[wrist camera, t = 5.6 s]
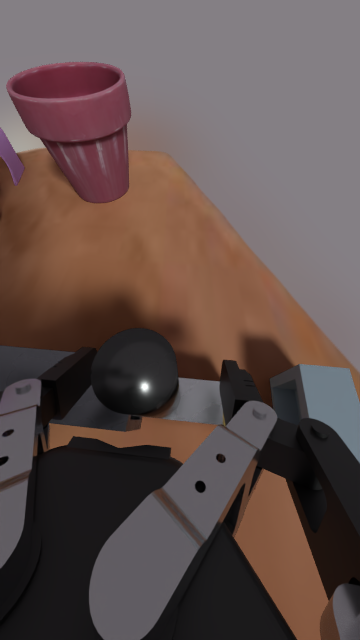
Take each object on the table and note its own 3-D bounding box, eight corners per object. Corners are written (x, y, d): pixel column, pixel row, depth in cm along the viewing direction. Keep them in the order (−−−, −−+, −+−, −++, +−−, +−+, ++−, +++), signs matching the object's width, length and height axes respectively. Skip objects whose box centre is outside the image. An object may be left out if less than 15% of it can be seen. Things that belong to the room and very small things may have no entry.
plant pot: (154, 200, 33) (138, 85, 22) (69, 222, 31) (3, 105, 19) (131, 161, 39) (110, 55, 28) (59, 177, 37) (4, 68, 25)
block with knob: (24, 404, 18) (-224, 377, 7) (39, 369, 19) (-148, 303, 8) (230, 426, 16) (319, 437, 6) (230, 388, 18) (299, 340, 7)
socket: (277, 451, 16) (317, 464, 12) (269, 378, 19) (299, 364, 14) (321, 456, 16) (380, 471, 11) (306, 382, 19) (349, 368, 14)
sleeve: (17, 415, 18) (-38, 413, 14) (40, 361, 20) (-1, 345, 16) (140, 429, 17) (125, 431, 13) (149, 372, 20) (139, 358, 15)
